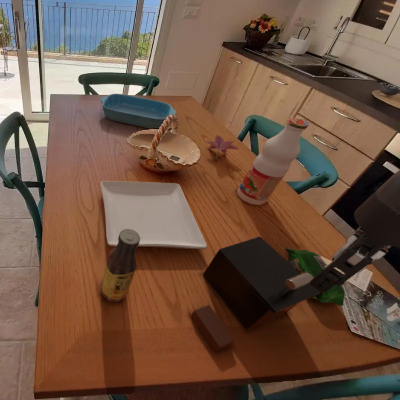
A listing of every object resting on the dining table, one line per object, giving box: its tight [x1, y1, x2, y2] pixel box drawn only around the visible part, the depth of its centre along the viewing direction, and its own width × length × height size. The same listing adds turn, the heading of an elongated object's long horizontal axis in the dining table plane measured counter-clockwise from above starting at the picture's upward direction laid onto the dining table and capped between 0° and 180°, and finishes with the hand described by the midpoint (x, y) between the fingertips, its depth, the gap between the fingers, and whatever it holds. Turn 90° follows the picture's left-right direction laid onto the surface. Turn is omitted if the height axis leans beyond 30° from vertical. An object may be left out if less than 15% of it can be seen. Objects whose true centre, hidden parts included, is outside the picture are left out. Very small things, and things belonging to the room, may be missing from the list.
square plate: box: [100, 180, 208, 250], centre depth 81 cm, size 27×27×4 cm
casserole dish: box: [100, 93, 177, 130], centre depth 132 cm, size 37×22×7 cm, turn 71°
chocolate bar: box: [190, 304, 236, 353], centre depth 57 cm, size 8×4×2 cm, turn 20°
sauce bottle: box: [100, 229, 140, 303], centre depth 57 cm, size 7×6×20 cm
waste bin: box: [202, 251, 299, 331], centre depth 62 cm, size 15×13×10 cm
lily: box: [204, 134, 240, 160], centre depth 109 cm, size 12×12×10 cm
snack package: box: [284, 247, 346, 306], centre depth 67 cm, size 7×16×5 cm, turn 177°
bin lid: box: [217, 235, 321, 314], centre depth 57 cm, size 16×13×6 cm
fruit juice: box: [236, 117, 309, 206], centre depth 84 cm, size 9×9×28 cm
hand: (327, 275), depth 44 cm, fingers open, 8 cm apart
